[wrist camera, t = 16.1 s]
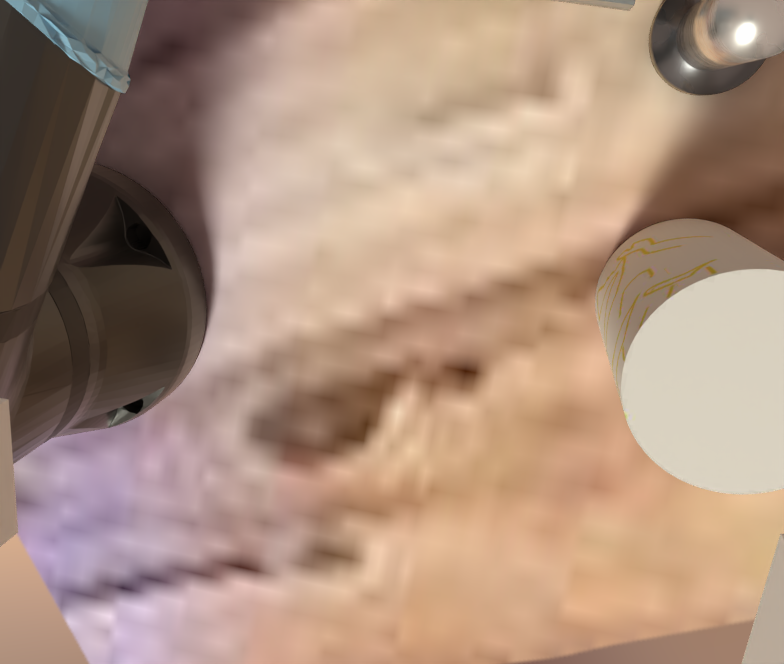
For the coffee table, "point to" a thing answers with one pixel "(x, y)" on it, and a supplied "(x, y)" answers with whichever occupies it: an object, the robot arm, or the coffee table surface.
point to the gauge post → (714, 42)
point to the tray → (605, 3)
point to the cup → (699, 352)
